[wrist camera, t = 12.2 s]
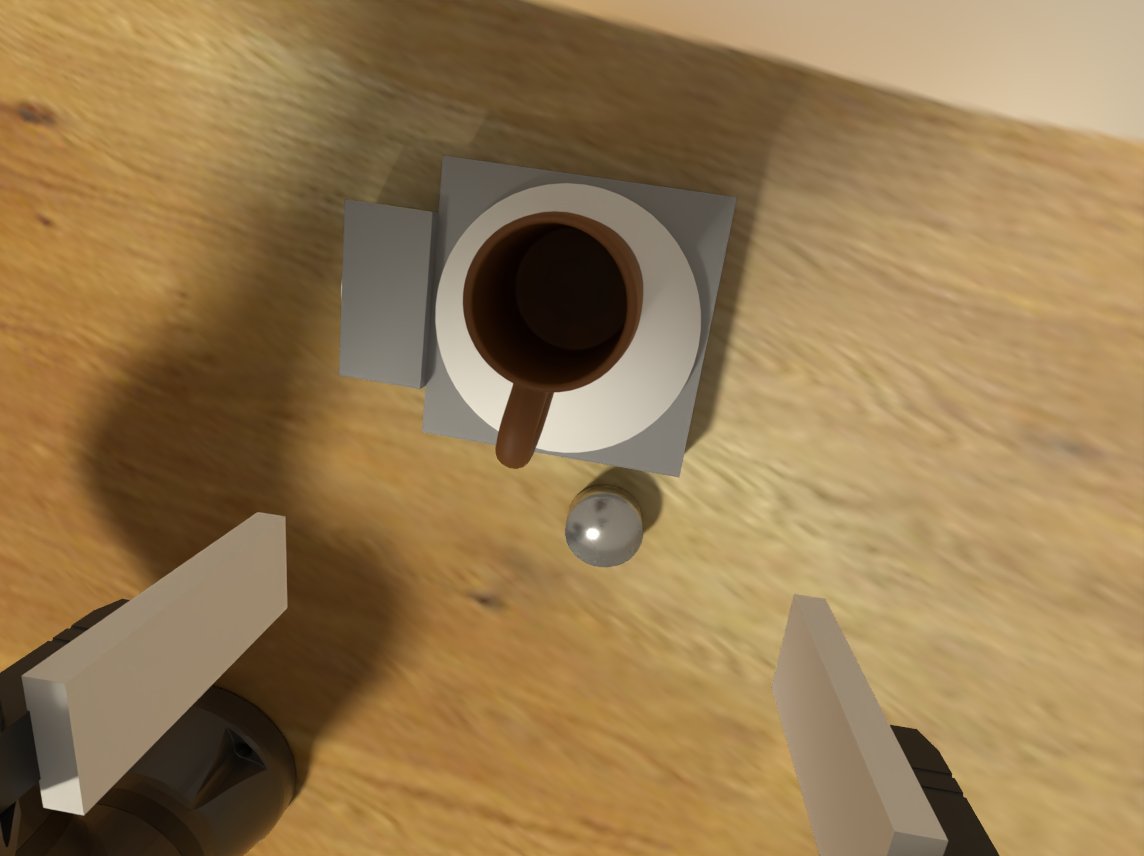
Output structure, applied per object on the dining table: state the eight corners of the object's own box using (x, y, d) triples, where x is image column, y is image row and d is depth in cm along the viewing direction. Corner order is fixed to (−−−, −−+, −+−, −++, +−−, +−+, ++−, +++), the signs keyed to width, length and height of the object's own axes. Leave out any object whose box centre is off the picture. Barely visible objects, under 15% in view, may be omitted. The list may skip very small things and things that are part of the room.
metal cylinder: (604, 565, 44) (603, 580, 42) (552, 518, 43) (549, 531, 41) (657, 520, 43) (659, 534, 41) (604, 470, 42) (604, 482, 40)
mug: (598, 444, 37) (580, 509, 29) (475, 406, 38) (420, 458, 29) (663, 240, 34) (666, 240, 25) (526, 199, 34) (481, 185, 25)
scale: (360, 405, 43) (332, 421, 39) (372, 149, 38) (340, 139, 34) (677, 460, 41) (679, 483, 37) (730, 200, 36) (739, 195, 33)
